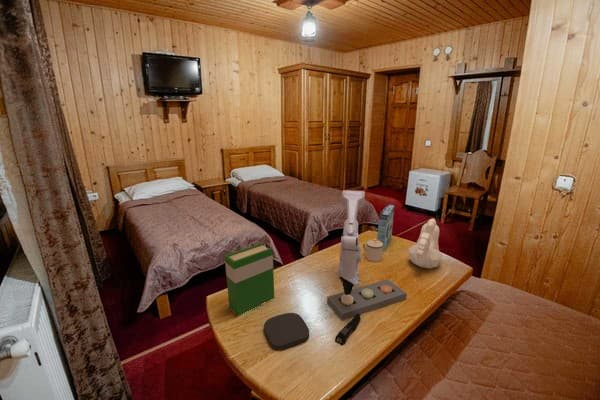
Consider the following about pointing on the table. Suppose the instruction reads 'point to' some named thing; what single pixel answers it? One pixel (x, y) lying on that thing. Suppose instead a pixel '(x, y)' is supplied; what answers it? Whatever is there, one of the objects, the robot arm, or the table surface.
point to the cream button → (347, 300)
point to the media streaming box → (286, 331)
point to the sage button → (367, 293)
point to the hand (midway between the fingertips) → (347, 293)
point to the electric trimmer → (347, 330)
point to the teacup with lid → (374, 250)
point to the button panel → (366, 305)
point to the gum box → (385, 225)
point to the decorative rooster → (426, 247)
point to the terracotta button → (386, 289)
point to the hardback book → (249, 277)
